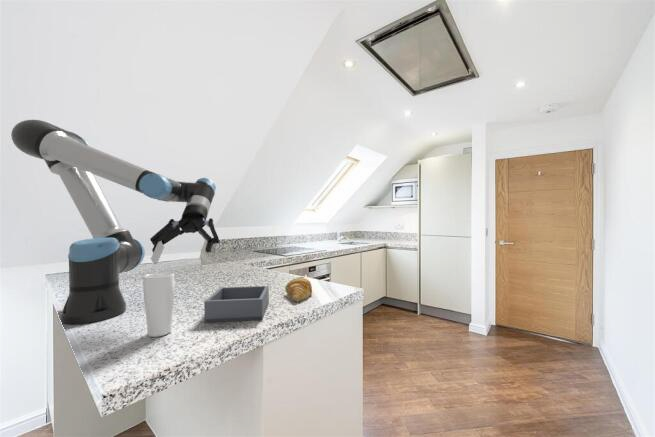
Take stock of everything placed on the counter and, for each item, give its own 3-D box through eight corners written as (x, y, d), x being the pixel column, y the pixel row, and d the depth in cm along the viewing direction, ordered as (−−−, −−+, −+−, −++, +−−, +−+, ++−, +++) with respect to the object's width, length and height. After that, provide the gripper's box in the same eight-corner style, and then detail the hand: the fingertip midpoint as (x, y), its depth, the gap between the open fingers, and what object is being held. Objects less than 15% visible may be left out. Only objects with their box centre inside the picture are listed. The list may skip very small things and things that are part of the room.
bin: (204, 322, 77) (204, 301, 77) (220, 305, 93) (220, 287, 93) (262, 320, 78) (262, 299, 78) (268, 303, 94) (268, 285, 94)
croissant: (304, 313, 94) (315, 293, 94) (278, 300, 93) (289, 279, 93) (308, 295, 115) (316, 278, 115) (286, 284, 115) (295, 267, 115)
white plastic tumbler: (137, 338, 67) (136, 277, 67) (158, 327, 74) (157, 272, 74) (161, 340, 66) (160, 278, 66) (180, 328, 73) (180, 272, 73)
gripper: (235, 218, 99) (224, 266, 84) (162, 219, 97) (138, 269, 82) (231, 202, 94) (219, 251, 79) (154, 203, 92) (127, 254, 77)
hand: (178, 260), depth 80 cm, fingers open, 13 cm apart
